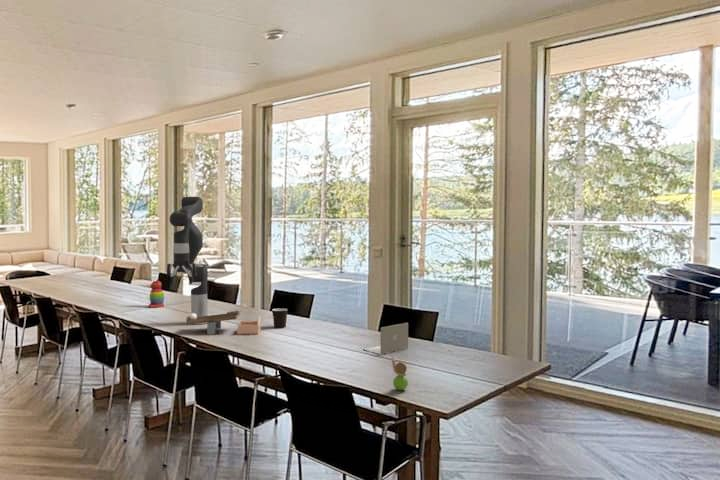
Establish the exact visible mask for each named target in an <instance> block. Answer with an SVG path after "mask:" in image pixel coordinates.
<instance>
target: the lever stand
mask: <svg viewBox="0 0 720 480" xmlns="http://www.w3.org/2000/svg"><path fill="white" fill-rule="evenodd" d="M206 324H207V326H206V327H207V328H206V329H207V331H206V333H207V336H208V335H209V336H210V335H211V336H212V335H216V330H219V329H222V321H216V322H207V323H206Z"/></svg>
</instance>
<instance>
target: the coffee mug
mask: <svg viewBox="0 0 720 480" xmlns="http://www.w3.org/2000/svg"><path fill="white" fill-rule="evenodd" d="M271 312H272V320H273V328H274V327H275V328H274V329H285V328H286V326H287V316H288V308H284V307H283V308H280V307H279V308H272V310H271ZM284 327H285V328H284Z"/></svg>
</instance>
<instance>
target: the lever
mask: <svg viewBox="0 0 720 480" xmlns="http://www.w3.org/2000/svg"><path fill="white" fill-rule="evenodd" d="M240 315H241V313H240V311H239V310H235V311H234V310H233V311H228V312H226V313H221V314H212V315H210V314H209V315H208V316H201V317H197V318H196V319H191V320H190V319H189V315H188V316H187V317H186V318H185V319H186V325H189V326H190V325H196V324H198V323H206V324H207V322H216V321H221V322H222V321H223V322H224V321H232V320H237V319H238V318H239V316H240Z"/></svg>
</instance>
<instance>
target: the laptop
mask: <svg viewBox="0 0 720 480" xmlns="http://www.w3.org/2000/svg"><path fill="white" fill-rule="evenodd" d="M364 349H365V350H366V349H369V351H371V352H372V350H373V352H374V353H373V354H375V352H377V353H378V354H377V355H379V354H383V355H385V354H384V353H387V354H389V353H388V352H392V353H394V352H393V351H396V352H399V351H398V350H401V351H404V350H403V349H405V350H408V349H409V322H403V323H398V324H392V325H387V326H382V327H380V345H377V346H372V347H367V348H364ZM365 350H364V351H365ZM371 352H370V353H371Z"/></svg>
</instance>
